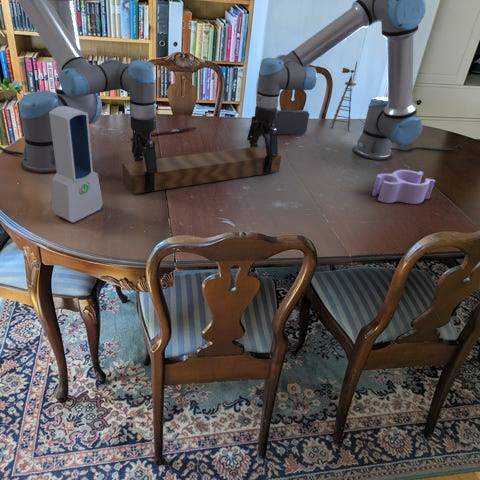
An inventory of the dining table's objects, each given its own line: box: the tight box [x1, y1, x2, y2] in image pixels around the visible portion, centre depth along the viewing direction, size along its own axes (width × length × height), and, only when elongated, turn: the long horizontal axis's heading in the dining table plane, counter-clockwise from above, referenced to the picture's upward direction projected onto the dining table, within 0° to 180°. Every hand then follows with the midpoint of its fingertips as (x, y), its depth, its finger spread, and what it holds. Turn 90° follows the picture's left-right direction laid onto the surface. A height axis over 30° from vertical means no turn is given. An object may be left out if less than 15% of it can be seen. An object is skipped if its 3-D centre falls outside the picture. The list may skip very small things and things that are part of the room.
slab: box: [121, 145, 282, 195], centre depth 160 cm, size 55×10×6 cm, turn 119°
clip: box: [371, 169, 436, 205], centre depth 162 cm, size 20×12×7 cm, turn 109°
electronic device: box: [49, 106, 104, 224], centre depth 127 cm, size 12×8×30 cm, turn 148°
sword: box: [130, 126, 197, 141], centre depth 193 cm, size 31×3×1 cm, turn 126°
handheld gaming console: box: [261, 109, 310, 135], centre depth 204 cm, size 23×3×10 cm, turn 108°
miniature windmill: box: [331, 61, 358, 131], centre depth 214 cm, size 9×8×30 cm
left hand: (144, 183), depth 152 cm, fingers closed on slab, 10 cm apart
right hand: (259, 166), depth 171 cm, fingers closed on slab, 10 cm apart
